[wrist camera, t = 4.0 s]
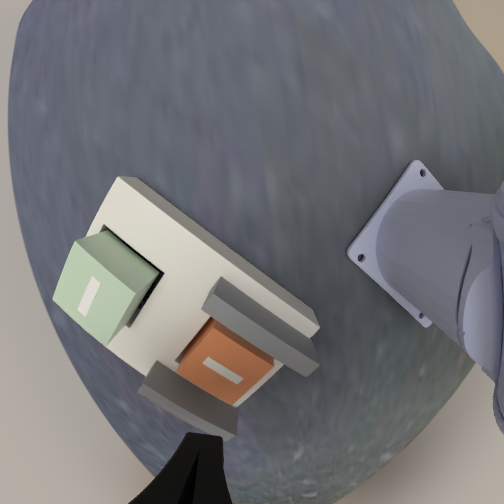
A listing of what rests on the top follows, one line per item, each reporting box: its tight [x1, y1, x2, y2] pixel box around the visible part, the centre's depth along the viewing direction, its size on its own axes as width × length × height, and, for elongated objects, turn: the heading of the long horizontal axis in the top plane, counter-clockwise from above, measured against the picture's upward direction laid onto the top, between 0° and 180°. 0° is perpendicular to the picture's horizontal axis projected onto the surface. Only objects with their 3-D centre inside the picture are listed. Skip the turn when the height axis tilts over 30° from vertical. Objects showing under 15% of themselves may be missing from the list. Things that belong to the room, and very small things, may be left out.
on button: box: [53, 230, 160, 347], centre depth 13 cm, size 4×4×3 cm
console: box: [86, 176, 320, 442], centre depth 15 cm, size 14×10×5 cm
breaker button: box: [176, 316, 274, 405], centre depth 16 cm, size 4×4×3 cm
